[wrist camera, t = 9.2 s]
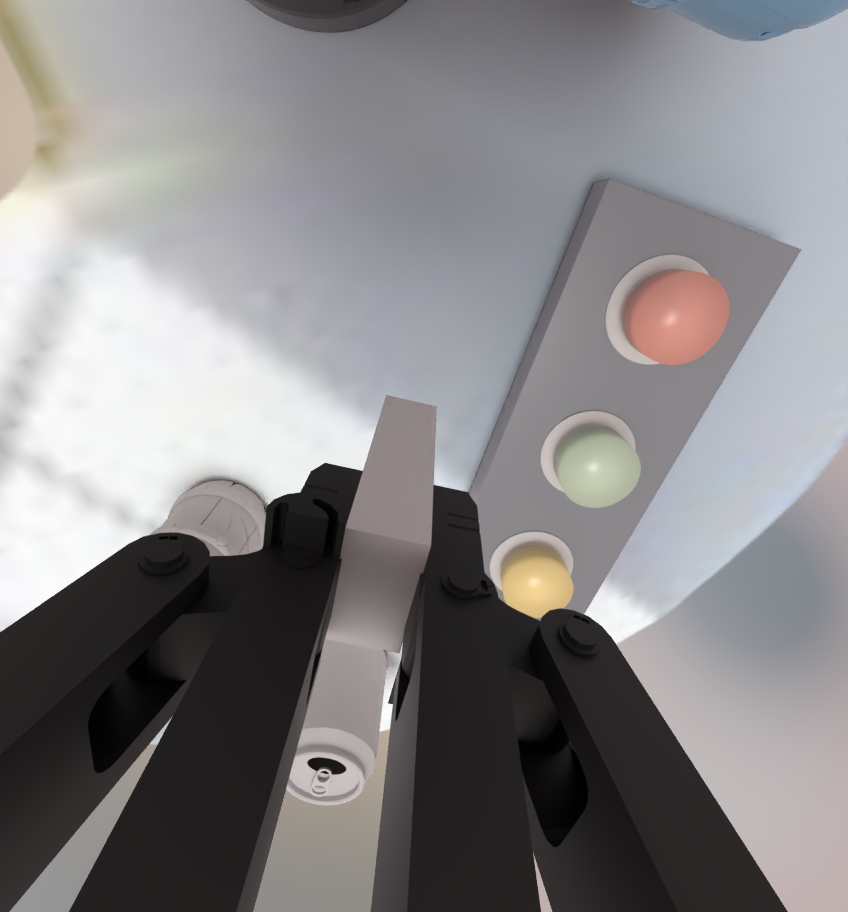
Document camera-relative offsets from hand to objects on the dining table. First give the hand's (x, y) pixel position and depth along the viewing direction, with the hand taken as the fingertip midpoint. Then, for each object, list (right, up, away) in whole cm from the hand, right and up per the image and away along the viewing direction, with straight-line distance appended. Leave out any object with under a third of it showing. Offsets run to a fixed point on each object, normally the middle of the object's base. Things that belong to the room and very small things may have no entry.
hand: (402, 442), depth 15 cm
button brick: (+15, +8, +14) cm, 22 cm away
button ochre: (+9, -9, +22) cm, 26 cm away
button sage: (+12, -1, +18) cm, 22 cm away
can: (-7, -19, +32) cm, 38 cm away
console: (+12, +1, +22) cm, 25 cm away
